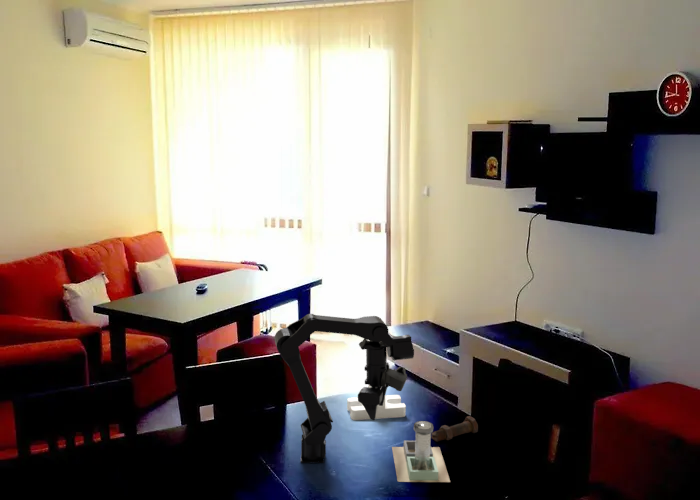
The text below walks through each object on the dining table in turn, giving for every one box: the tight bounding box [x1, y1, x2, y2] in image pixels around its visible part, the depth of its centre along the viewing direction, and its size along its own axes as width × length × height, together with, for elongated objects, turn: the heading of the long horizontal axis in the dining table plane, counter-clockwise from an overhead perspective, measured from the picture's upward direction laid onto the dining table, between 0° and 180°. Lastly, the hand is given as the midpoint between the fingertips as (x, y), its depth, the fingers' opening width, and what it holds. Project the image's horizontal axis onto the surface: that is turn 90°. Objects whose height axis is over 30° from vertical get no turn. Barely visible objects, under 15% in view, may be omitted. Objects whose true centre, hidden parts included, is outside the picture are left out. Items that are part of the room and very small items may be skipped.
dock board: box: [391, 446, 451, 483], centre depth 176 cm, size 14×18×1 cm
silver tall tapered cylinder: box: [413, 420, 434, 470], centre depth 170 cm, size 5×5×14 cm
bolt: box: [431, 415, 479, 442], centre depth 192 cm, size 6×5×15 cm
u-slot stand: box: [346, 384, 407, 421], centre depth 207 cm, size 10×18×11 cm, turn 101°
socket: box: [406, 457, 438, 480], centre depth 171 cm, size 8×8×2 cm
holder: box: [402, 439, 433, 462], centre depth 180 cm, size 7×7×2 cm
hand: (377, 412), depth 181 cm, fingers open, 9 cm apart
